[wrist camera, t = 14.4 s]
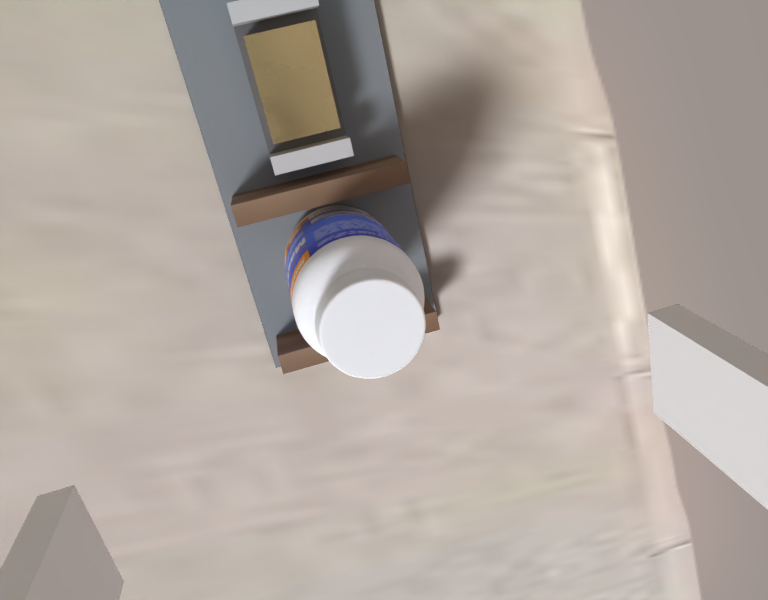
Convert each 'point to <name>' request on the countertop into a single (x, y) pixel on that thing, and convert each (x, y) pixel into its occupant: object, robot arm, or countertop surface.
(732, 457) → the robot arm
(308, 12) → the cradle base
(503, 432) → the countertop surface
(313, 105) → the pad
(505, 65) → the countertop surface
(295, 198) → the trough
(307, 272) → the pill bottle
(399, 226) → the mat
